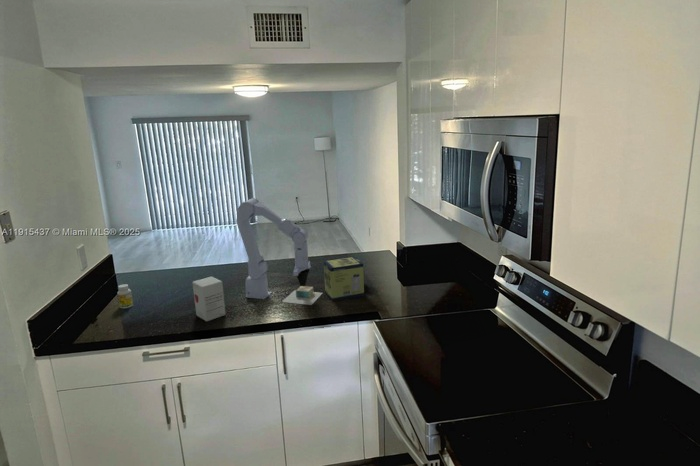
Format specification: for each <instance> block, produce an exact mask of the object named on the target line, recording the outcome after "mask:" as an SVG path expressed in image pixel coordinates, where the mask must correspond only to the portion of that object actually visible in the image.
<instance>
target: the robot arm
mask: <svg viewBox="0 0 700 466" xmlns="http://www.w3.org/2000/svg"><path fill="white" fill-rule="evenodd" d="M236 215H237V216H236V224H237V228H238V232H239V233H240V237H241V240H242V243H243V246H244V249H245V252H246V255H247V258H248V260H247V269H248V270H247V273H248V276H247V277H246V279H245V281H244V282H245V283H244V284H245V294H246V295H245V298H250V299H259V300H260V299H261V300H266V298H268V297H269V296H270V295H272V293H273V292H272V291H269V287H268V286H269V283H268V275H267V271H268V269H269V265H268V263H267V262H266V260H265V258H264V255H261V252H260V251H259V247H258V245H257V244H258V243H257V240H256V237H255V235H254V231H253V228H252V225H251V220H252V218H253V217H258V216H261V217H264V218H265V219H267V220H268V221H270V222H272V223H273V224H275V225H277V228H278V230H279V231H280V232H281V233H283V234H284V235H286V236H287V237H289V238H290V239H291V241H292V243H293V244H294V246H293V247H294V265H295V266H294V269H293V271H292V272H293V273H292V275H293V276H295V277H296V278H297V280H298V282H299V283H298V284H299V287H300V286H306V285H307V279H308V276H309V273H310V269H311V268H312V266H311V261H310V260H309V254H308V253H309V252H308V251H309V250H308V249H309V248H308V240H307V239H308V237H309V232H308V230H306V228H304V227H301V226H298V225H296V224H295V223H293V222H292V220H291V219H288V218H282V217H280V216H279V215H278V214H276V213H275V212H274V211H272V209H270V208H269V207H267V206H266V205H265V204H264V203H263V202H262V201H259V199H258V198H255V197H251V198H249V199H248V200H246V201H242V202H241V204H240V205H239V206H238V207H237V214H236Z"/></svg>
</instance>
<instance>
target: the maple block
mask: <svg viewBox="0 0 700 466" xmlns="http://www.w3.org/2000/svg"><path fill="white" fill-rule="evenodd" d="M295 290H296V297H301V298H309V297H310V296H311V295H312V294H313V293H314V292H315V291H314V286H308V285H307V286H306V285H305V286H300V285H299V287H298V288H297V289H295Z"/></svg>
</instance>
